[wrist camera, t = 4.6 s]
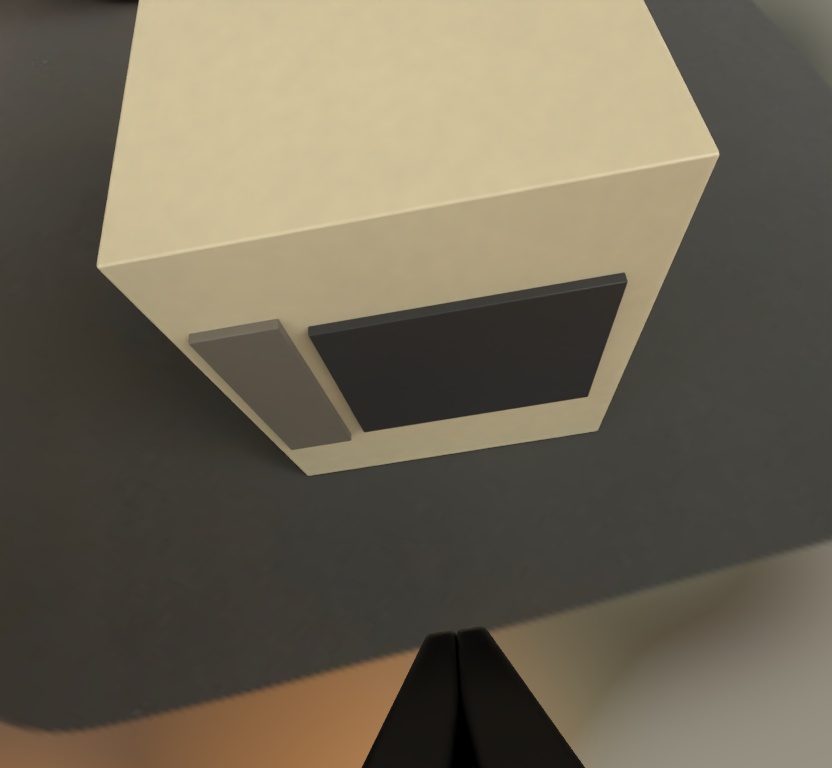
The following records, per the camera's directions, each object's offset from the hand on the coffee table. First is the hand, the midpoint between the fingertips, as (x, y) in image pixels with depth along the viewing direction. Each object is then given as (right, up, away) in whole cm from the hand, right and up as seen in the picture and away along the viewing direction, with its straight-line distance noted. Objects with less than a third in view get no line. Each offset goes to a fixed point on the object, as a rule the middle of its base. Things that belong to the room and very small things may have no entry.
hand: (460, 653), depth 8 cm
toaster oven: (0, +7, +16) cm, 17 cm away
